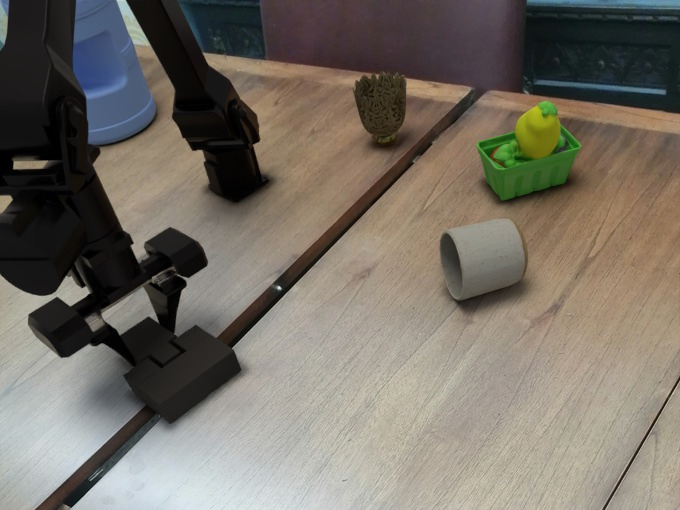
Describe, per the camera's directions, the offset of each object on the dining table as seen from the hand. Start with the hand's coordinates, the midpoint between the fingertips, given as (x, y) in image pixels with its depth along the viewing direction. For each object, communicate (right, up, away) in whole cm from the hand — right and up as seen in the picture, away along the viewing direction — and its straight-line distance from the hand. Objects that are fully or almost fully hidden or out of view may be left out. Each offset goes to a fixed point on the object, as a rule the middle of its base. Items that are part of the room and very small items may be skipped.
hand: (151, 351), depth 79 cm
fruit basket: (+45, +25, +12) cm, 53 cm away
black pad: (+1, -1, 0) cm, 2 cm away
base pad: (+5, -4, -2) cm, 7 cm away
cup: (+27, +36, +23) cm, 50 cm away
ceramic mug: (+37, +9, +2) cm, 38 cm away
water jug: (-19, +46, +36) cm, 61 cm away
